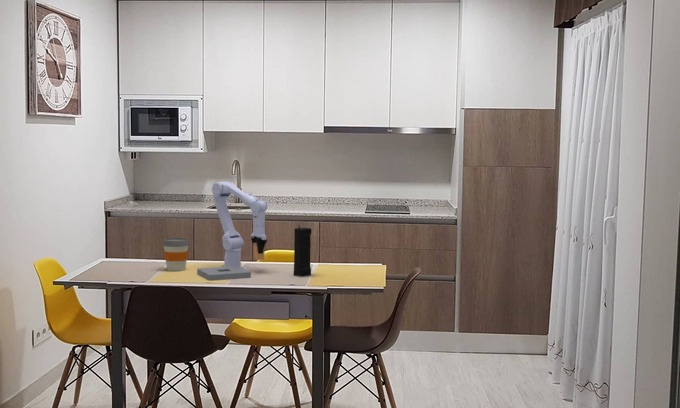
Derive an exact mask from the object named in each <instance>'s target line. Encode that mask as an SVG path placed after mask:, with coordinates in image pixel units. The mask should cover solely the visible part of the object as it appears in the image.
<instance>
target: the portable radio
mask: <svg viewBox="0 0 680 408" xmlns="http://www.w3.org/2000/svg"><path fill="white" fill-rule="evenodd" d="M311 235H312V228H310V227H300V226H298V227H297V228H294V235H293V236H294V244H293V245H294V246H293V247H294V248H293V250H294V251H293V252H294V253H293V276H296V277H307V276H311V275H312V268H311V247H312V244H311V243H312V242H311Z"/></svg>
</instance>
